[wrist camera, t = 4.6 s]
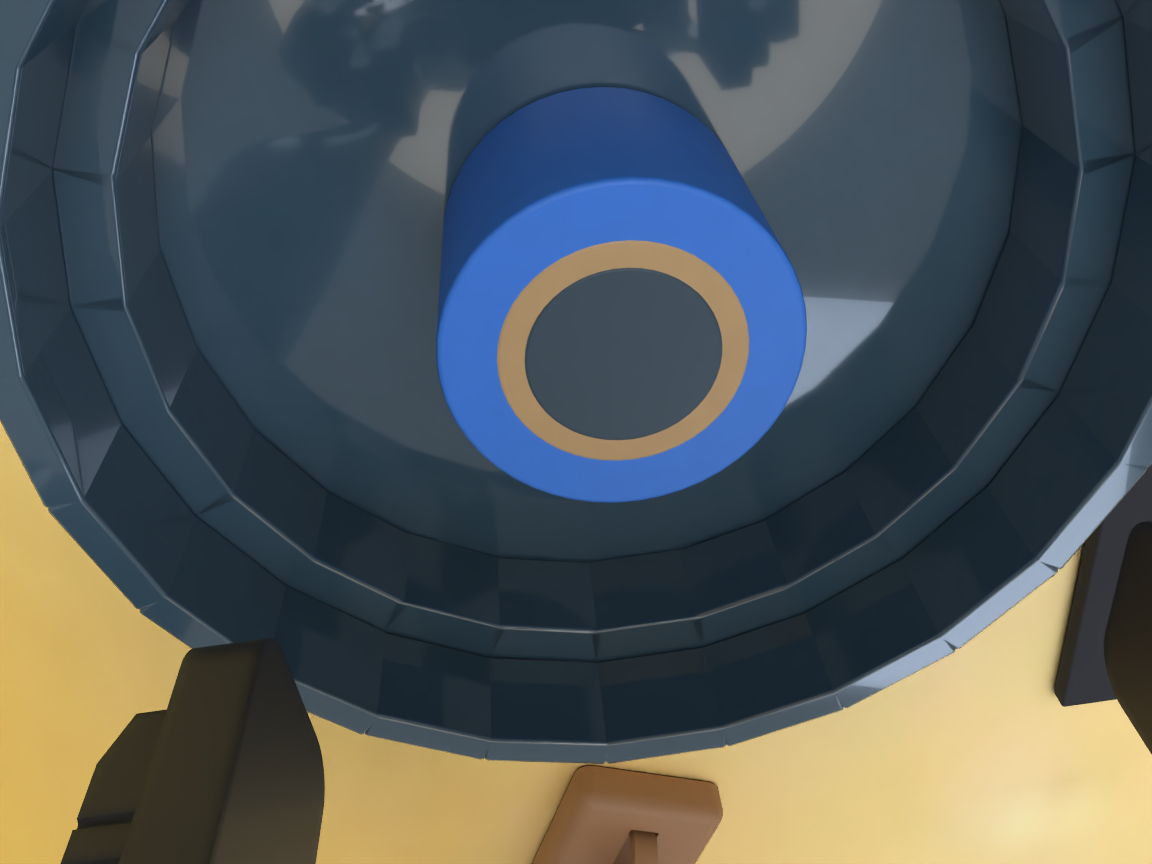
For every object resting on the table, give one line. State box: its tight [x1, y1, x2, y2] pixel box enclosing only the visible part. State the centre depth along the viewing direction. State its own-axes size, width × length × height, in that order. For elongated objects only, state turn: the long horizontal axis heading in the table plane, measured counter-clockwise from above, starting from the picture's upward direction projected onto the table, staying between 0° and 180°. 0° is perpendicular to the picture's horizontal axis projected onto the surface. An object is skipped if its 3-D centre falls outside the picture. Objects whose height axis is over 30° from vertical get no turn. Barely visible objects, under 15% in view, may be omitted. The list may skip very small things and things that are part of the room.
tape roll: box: [436, 87, 807, 502], centre depth 16 cm, size 5×5×4 cm
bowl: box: [0, 0, 1152, 764], centre depth 17 cm, size 17×17×4 cm
